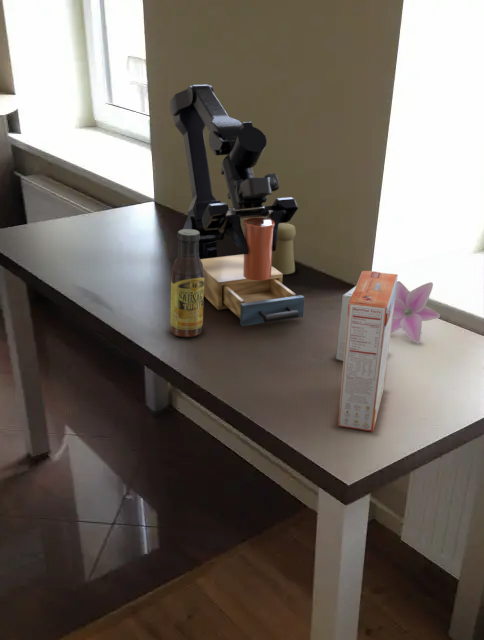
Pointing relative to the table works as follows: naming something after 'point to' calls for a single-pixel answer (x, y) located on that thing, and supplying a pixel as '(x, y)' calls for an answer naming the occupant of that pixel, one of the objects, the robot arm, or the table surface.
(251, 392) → the table surface
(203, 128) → the robot arm
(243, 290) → the drawer
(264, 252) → the cup
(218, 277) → the cabinet
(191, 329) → the sauce bottle
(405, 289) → the lily
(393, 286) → the cracker box
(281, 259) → the cork
